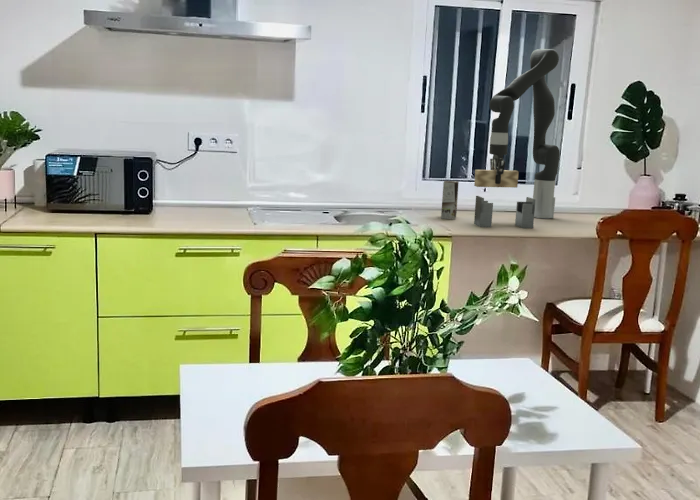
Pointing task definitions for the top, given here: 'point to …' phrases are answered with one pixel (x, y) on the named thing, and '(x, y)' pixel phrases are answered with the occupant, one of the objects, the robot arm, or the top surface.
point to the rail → (488, 178)
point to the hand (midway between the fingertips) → (496, 183)
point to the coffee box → (449, 199)
